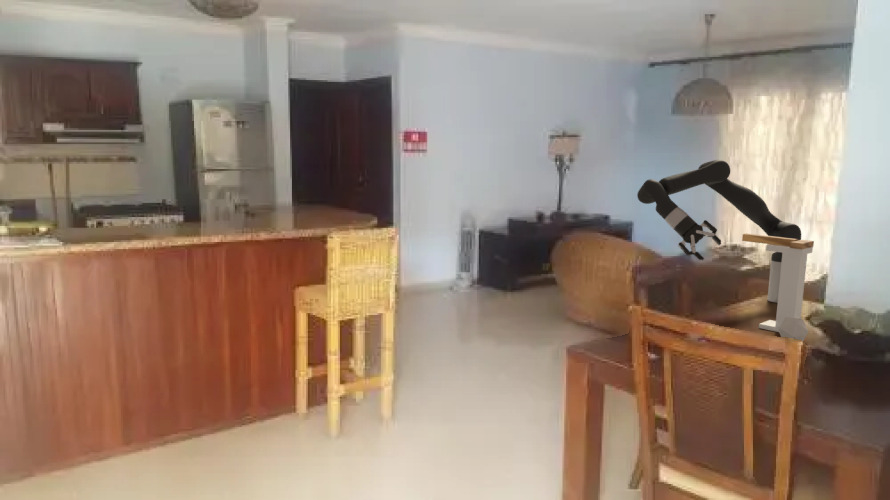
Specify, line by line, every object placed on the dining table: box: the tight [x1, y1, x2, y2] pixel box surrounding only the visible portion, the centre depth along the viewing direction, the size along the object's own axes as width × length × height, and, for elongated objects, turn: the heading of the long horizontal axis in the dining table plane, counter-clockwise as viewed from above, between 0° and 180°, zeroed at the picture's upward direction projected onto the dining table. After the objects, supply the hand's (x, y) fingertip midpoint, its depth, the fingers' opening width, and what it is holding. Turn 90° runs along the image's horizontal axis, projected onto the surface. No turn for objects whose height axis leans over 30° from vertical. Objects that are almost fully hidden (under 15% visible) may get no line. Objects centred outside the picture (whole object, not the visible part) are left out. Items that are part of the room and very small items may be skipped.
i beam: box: [758, 244, 814, 333], centre depth 240 cm, size 9×12×30 cm
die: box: [778, 317, 809, 342], centre depth 226 cm, size 8×9×10 cm
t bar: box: [741, 233, 815, 249], centre depth 241 cm, size 10×22×2 cm, turn 42°
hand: (711, 252), depth 255 cm, fingers open, 8 cm apart
